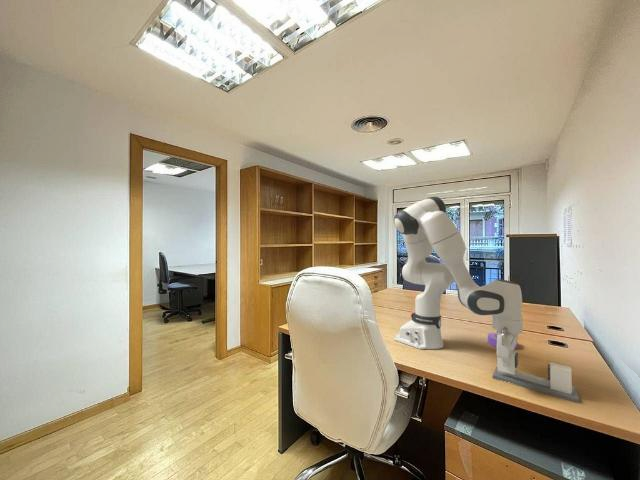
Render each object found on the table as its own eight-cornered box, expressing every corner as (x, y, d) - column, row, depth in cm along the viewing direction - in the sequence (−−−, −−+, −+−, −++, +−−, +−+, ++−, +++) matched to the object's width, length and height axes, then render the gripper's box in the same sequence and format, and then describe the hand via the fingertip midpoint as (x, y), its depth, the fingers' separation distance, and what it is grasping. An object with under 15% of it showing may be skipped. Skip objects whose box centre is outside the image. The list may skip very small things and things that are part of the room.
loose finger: (497, 370, 94) (497, 350, 94) (499, 365, 97) (499, 347, 97) (516, 375, 90) (516, 355, 90) (518, 370, 93) (518, 351, 93)
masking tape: (522, 350, 118) (522, 342, 118) (494, 348, 120) (494, 340, 120) (509, 341, 130) (509, 333, 130) (483, 339, 132) (483, 332, 132)
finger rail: (492, 378, 93) (492, 355, 94) (496, 369, 100) (496, 348, 100) (579, 403, 79) (578, 376, 79) (577, 390, 86) (576, 366, 86)
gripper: (514, 334, 84) (514, 377, 84) (521, 320, 99) (521, 357, 99) (491, 329, 89) (491, 370, 88) (501, 317, 104) (501, 352, 103)
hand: (507, 363), depth 94 cm, fingers closed on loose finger, 4 cm apart
